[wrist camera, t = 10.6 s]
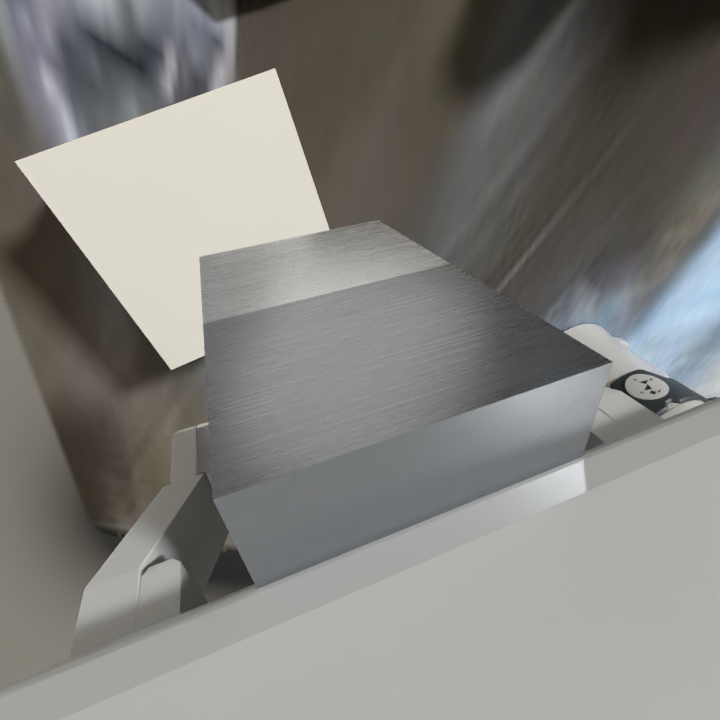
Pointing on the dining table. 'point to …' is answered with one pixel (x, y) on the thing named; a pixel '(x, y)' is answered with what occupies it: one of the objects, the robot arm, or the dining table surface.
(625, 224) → the dining table surface
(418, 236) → the dining table surface
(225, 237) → the stand
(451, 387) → the block
